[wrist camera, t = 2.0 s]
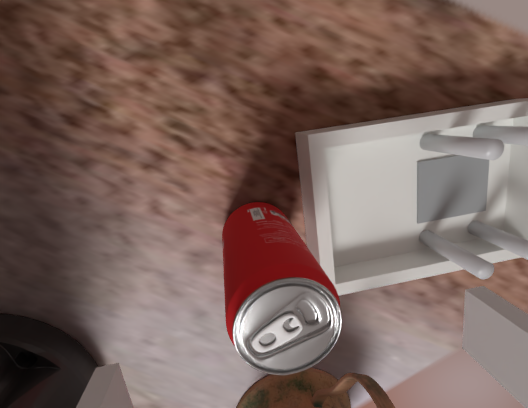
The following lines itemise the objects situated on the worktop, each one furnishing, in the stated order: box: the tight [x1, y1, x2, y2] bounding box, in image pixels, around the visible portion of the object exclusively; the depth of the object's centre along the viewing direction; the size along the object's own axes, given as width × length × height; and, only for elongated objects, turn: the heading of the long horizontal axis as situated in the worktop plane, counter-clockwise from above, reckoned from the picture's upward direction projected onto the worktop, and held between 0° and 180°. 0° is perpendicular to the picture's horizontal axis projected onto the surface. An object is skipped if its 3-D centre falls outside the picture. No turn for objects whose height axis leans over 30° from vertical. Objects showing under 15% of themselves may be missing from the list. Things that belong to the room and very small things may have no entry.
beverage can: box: [222, 202, 342, 375], centre depth 19 cm, size 5×5×12 cm
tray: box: [295, 98, 528, 296], centre depth 22 cm, size 18×12×7 cm, turn 98°
